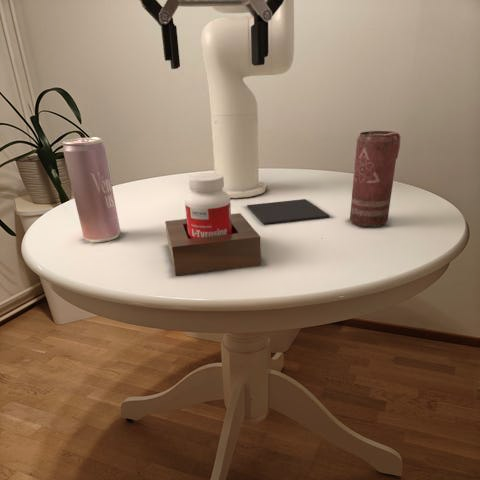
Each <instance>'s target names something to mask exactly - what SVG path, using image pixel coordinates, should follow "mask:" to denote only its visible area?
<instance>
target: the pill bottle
mask: <svg viewBox="0 0 480 480" xmlns="http://www.w3.org/2000/svg"><path fill="white" fill-rule="evenodd" d="M187 183H188V188H189V190H190V192H189V193H188V194H187V195H186V197H185V199H184V205H185V218H186V219H187V228H188V238H189V239H192V238H201V237H209V236H218V235H227V234H232V226H231V214H232V208H231V206H232V204H231V198H230V197H229V195H228V194H227V193H226V192H225V191H223V189H222V188H223V187H224V178H223V175H221V174H218V173H215V172H203V173H202V172H201V173H196V174H191V175H189V176H188V177H187Z"/></svg>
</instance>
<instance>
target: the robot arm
mask: <svg viewBox="0 0 480 480" xmlns="http://www.w3.org/2000/svg"><path fill="white" fill-rule="evenodd" d="M139 2H140V4H141V6H142V8H143V9H144V10H145V11H146V12H147V13H148V14H149V15H150V16H151V17H152V18H153V19H154V20H155V21H156V22H157V24H158V26H159V27H160V30H161V39H162V48H163V49H162V50H163V55H164V56H163V57H164V61H165V62H167V61H168V62H169V61H170V69H171V70H177V69H179V68H180V67H181V61H180V50H179V39H178V29H177V28H178V27H177V25H175V23H174V18H173V17H174V15H175V13H176V11H177V9H178V8H179V7H183V8H185V7H188V8H192V7H193V8H194V7H198V8H199V7H203V8H205V7H211V8H212V9H213V10H214V11H216V12H218V13H222V14H248V13H249V14H250V15H244V16H243V15H242V16H241V15H240V16H225V17H220V18H216V19H212V20H210V21H209V22H207V24H206V25H205V26H204V27H203V29H202V32H201V37H200V46H201V53H202V58H203V59H202V60H203V64H204V69H205V73H206V80H207V87H208V95H209V96H208V97H209V107H210V123H211V136H212V139H211V140H212V149H213V151H212V152H213V164H214V165H213V169H214V173H218V174H221V175H223V178H224V187H223V188H222V189H223V191H225V192H226V193H227V194H228V195H229V197H230V199H240V198H250V197H253V196H255V197H256V196H259V195H261V194H263V193H265V192H266V190H267V189H266V188H267V185H266V183H264V182H262V181H259V180H260V177H259V129H258V128H259V127H258V125H259V124H258V121H259V120H258V118H259V117H258V102H257V98H256V96H255V95H254V92H253V91H252V90H251V89H250V87H249V86H248V85H247V84H246V83H245V81H244V78H248V77H258V76H259V77H260V76H261V77H262V76H275V75H283V74H285V73H287V72H288V71H289V70H290V69H291V67H292V65H293V61H294V56H295V55H294V54H295V0H166V1H165V3H164V4H163V5H161V3H159V1H158V0H139Z"/></svg>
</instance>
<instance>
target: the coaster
mask: <svg viewBox="0 0 480 480" xmlns="http://www.w3.org/2000/svg"><path fill="white" fill-rule="evenodd" d="M246 207H247V208H248V209H249V211H250V212H251V213H252V214H254V216H255V217H256V218H257V219H258V220H259V221H260V222H261V223H262V224H263V225H264V226H265V225H274V224H284V223H291V222H301V221H309V220H318V219H319V220H320V219H328V218H330V215H329V213H327V212H325V211H324V210H322V209H320V208H319V207H318V206H316V205H315V204H313V203H312V202H310V201H309V200H307V199H306V198H301V199H291V200H283V201H274V202H264V203H255V204H247V205H246Z"/></svg>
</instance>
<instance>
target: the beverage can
mask: <svg viewBox="0 0 480 480" xmlns="http://www.w3.org/2000/svg"><path fill="white" fill-rule="evenodd" d="M62 144H63V145H62V147H63V148H62V151H63V156H64V160H65V164H66V169H67V172H68V177H69V181H70V187H71V190H72V195H73V197H74V198H73V199H74V202H75V206H76V211H77V215H78V220H79V222H80V228H81V233H82V237H84V239H85V240H86V241H87V242H90V243H104V242H110V241H113V240H115V239H117V238H119V236H120V234H121V227H120V220H119V216H118V211H117V205H116V201H115V195H114V190H113V189H114V188H113V183H112V179H111V174H110V168H109V163H108V159H107V158H108V157H107V152H106V148H105V145H104V143H103V139H102V138H101V137H78V138H71V139H65V140H63V141H62Z"/></svg>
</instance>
